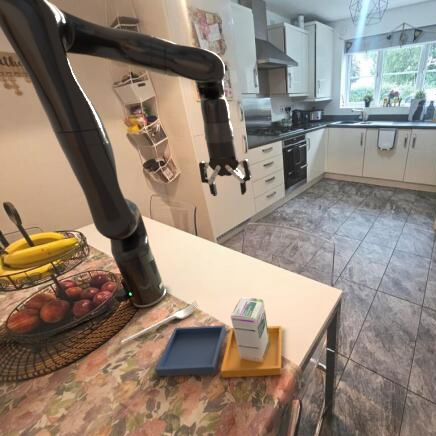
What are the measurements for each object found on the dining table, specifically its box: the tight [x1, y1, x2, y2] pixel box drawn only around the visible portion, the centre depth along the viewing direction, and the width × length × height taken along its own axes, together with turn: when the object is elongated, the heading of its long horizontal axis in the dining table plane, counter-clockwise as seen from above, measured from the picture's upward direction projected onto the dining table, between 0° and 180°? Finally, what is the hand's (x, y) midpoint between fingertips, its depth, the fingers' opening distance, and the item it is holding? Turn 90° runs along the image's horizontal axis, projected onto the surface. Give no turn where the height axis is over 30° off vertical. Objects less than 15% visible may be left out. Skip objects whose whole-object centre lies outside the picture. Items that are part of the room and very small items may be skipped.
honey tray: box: [220, 325, 283, 379], centre depth 59 cm, size 13×11×2 cm
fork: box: [120, 300, 199, 345], centre depth 68 cm, size 3×20×2 cm, turn 127°
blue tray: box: [154, 325, 227, 377], centre depth 60 cm, size 13×11×2 cm
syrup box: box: [230, 296, 270, 363], centre depth 56 cm, size 6×6×14 cm
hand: (229, 194), depth 74 cm, fingers open, 8 cm apart
